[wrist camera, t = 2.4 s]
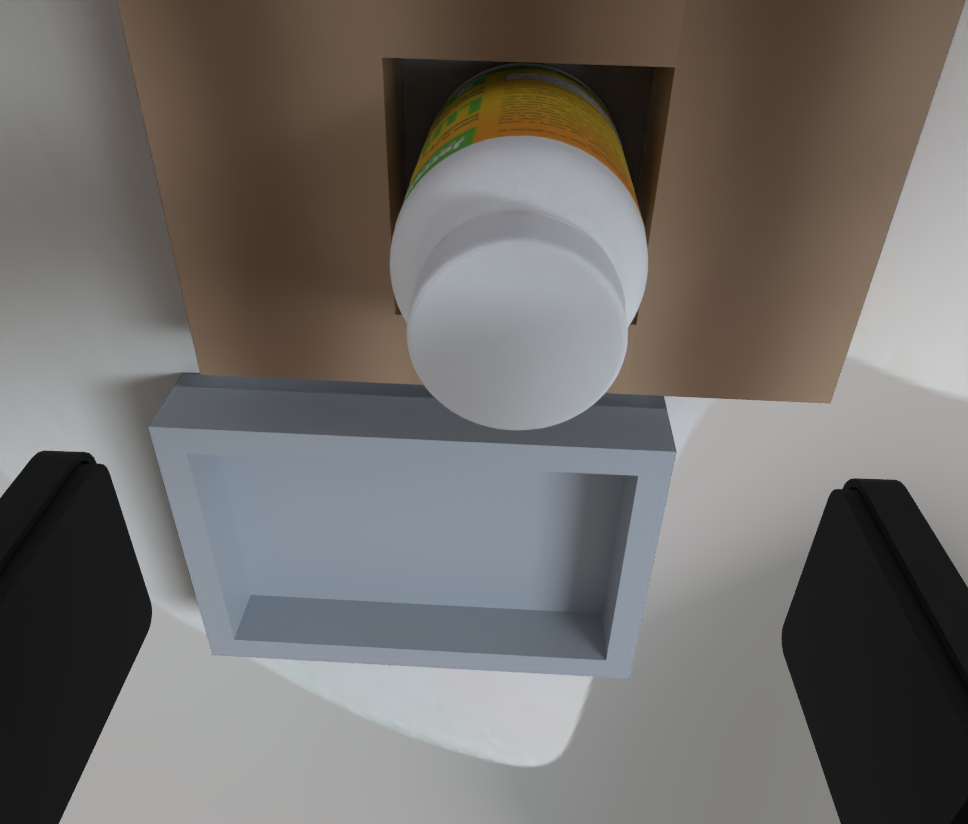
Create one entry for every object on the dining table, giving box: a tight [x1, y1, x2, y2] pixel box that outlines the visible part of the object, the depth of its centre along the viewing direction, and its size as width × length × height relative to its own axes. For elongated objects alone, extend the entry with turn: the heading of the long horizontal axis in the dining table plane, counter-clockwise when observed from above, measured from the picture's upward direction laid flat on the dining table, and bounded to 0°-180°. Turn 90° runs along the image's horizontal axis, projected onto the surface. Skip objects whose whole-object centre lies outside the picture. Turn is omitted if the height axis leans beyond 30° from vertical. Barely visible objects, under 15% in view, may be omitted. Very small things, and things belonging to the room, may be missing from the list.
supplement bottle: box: [390, 63, 648, 430], centre depth 18 cm, size 5×5×10 cm
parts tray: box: [148, 373, 676, 678], centre depth 29 cm, size 16×11×3 cm
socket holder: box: [117, 0, 966, 403], centre depth 21 cm, size 18×11×3 cm, turn 89°
